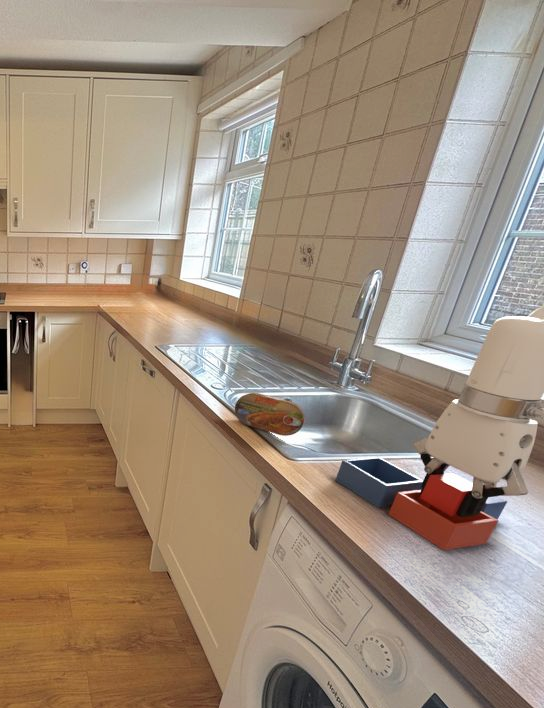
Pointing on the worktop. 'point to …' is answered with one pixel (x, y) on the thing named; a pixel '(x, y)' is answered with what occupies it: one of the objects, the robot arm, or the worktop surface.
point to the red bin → (441, 522)
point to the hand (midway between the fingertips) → (446, 503)
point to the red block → (446, 492)
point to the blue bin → (376, 479)
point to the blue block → (494, 506)
